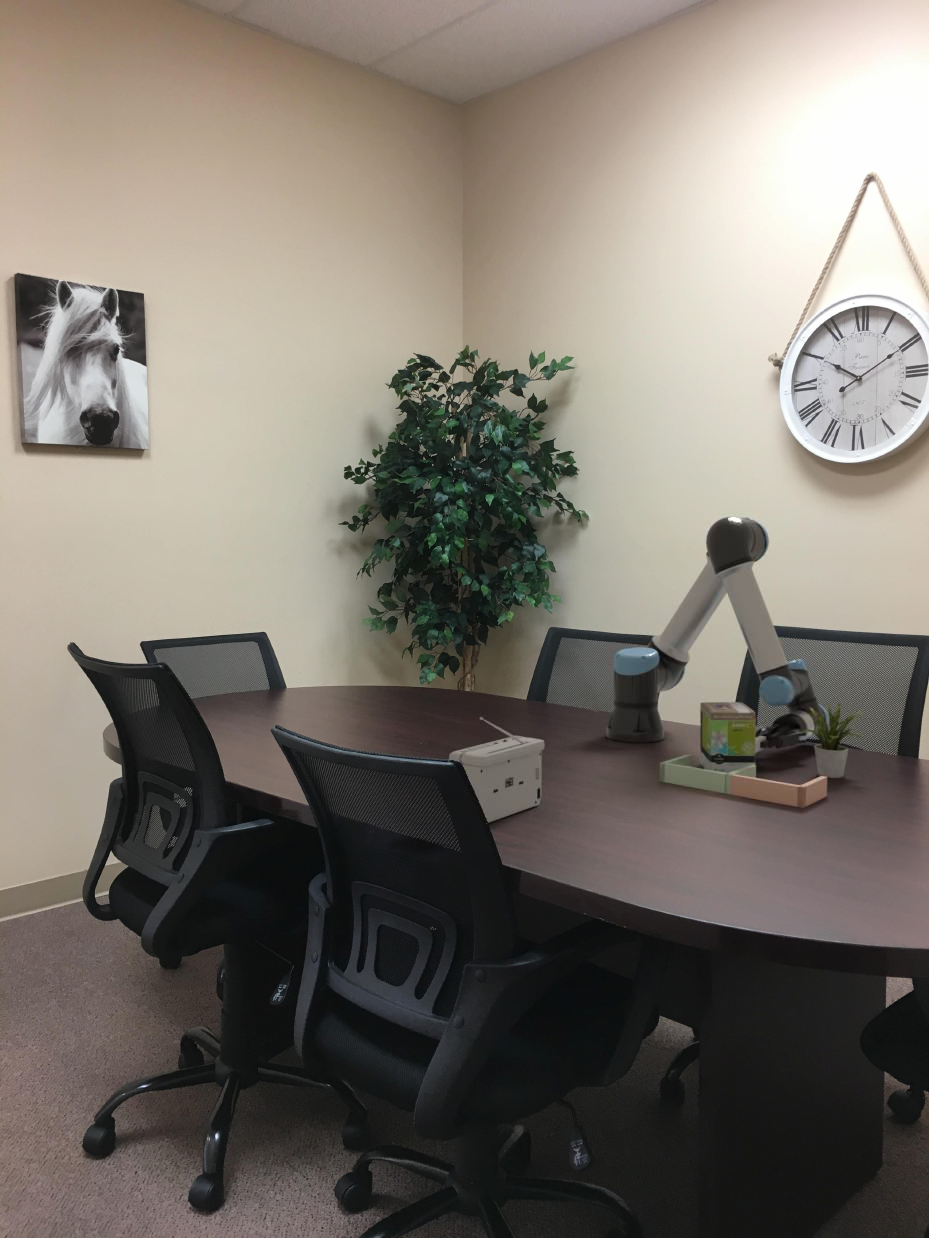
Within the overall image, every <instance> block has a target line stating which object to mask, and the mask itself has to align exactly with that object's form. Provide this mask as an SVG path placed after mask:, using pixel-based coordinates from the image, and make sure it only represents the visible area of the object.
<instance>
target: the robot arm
mask: <svg viewBox="0 0 929 1238" xmlns="http://www.w3.org/2000/svg"><path fill="white" fill-rule="evenodd" d="M769 539H770V538H769V535H768V531H767V530H766V528H765V526H763V524H762V523H760V522H759V521H757V520H754V519H752V518H750V517H735V516H726V517H723V518H721V519H718V520H717V521H715V522H714V523H713V524H712V525H711V527H709V530H708V531H707V533H706V540H705V541H706V542H705V544H706V545H705V546H706V551H707V552H706V553H705V556H706V560H707V561H706V564H705V565H704V567H703V569H702V570H701V572H700V573H699V574H698V576H697V578H696V579H695V581H694V582H693V584H692V586H691V587H690V589H688V590H689V591H688V592H687V593H686V595H685V597H683V600H682V602H681V603H680V605H678V608H677V609H676V611H675V613H674V614H673V616H672V617H671V619H670V620H669V622H668V623H667V625H666V626H665V628H664V630H663V631H662V633H661V634H660V635H654V636H652V638H651V640H650V641H649V643H648V644H647V646H646V647H641V646H639V647H631V648H629V647H628V648H624V649H621V650H619V651H617V652H616V653H615V654H614V658H613V659H614V660H613V664H612V668H613V707H612V708H613V709H612V711H611V714H610V717H609V721H608V722H607V723H608V724H607V725H606V738H608V739H609V740H610V739H611V740H612V741H613V740H614V741H618V742H626V743H654V742H659V741H662V740H664V739H665V729H664V728H665V727H664V726H663V722H662V719H661V716H660V712H659V707H658V706H659V693H661V692H667V691H669V690H671V689H673V688H674V687H676V686H678V684H680V682H681V681H682V680H683V678H684V676H685V672H686V666H687V664H688V663H689V662H690V660H691V658H690V654H689V651H690V649H691V648H692V647H693V645H694V644H695V642H696V640H697V639H698V637H700V634H702V631H703V630H704V629H705V627H706V625H707V624H708V623H709V621H710V620H711V618H712V616H713V614H714V613H715V612H716V610H717V609H718V607H719V606H720V604H721V603H722V601H723V599H724V598H725V597H726V595H727V596H728V599H729V602H730V604H731V607H732V609H733V612H734V614H735V618H736V621H737V622H738V625H739V628H740V631H741V633H742V637H743V638H744V642H745V644H746V647H747V649H748V652H749V654H750V657H751V661H752V662H753V666H754V668H755V671H756V673H757V675H758V679H759V682H760V684H759V688H758V693H759V697H760V699H761V701H763V702H764V703H765V704H767V705H768V706H771V707H776V708H777V707H784V706H786V708H787V712H788V713H785V714H783V715H781V716H778V717H777V718H776V719H775V720H774V721H773V722H772V725H768V726H766V727H765V728H763V726H760V725H756V727H755V754H756V753H758V752H760V751H762V750H764V749H772V748H773V747H774V748H775V749H782V748H787V747H793V746H796V745H798V744H806V743H807V739H809V738H812V737H814V736H816V735H815V734H813V733H812V732H808V731H804V730H807V729H810V730H814V731H817V728H818V725H817V724H816V723H815V722H814V721H813V719H812V718H811V717H810V716H809V715H811V716H812V717H813V718H814V719H815V720H816V717H815V715H814V714H813V712H812V710H811V709H810V708H812V709H814V710H815V711H816V712H817V713H818V714H819V715H820V717H821V719H822V721H823V714H825V717H826V722H827V725H829V724H830V722H829V712H828V710H826V708H825V707H824V706H823V705H821V704H819V701H818V699H817V696H816V693H815V690H814V687H813V684H812V681H811V678H810V675H809V670H808V668H807V666H806V665H805V664H806V663H805V661H804V660H803V659H801V658H800V659H793V660H791V661H787V657H786V655H785V652H784V649H783V648H782V644H781V642H780V639H779V636H778V634H777V631H776V629H775V626H774V624H773V622H772V618H771V615H770V613H769V611H768V608H767V605H766V602H765V600H764V597H763V595H762V592H761V590H760V589H761V588H760V587H759V584H758V581H757V579H756V575H755V574H754V571H753V566H754V565H755V563H756V562H758V561H759V560H760V559H762V558H763V557H764V556H765V555H766V552H767V551H768V548H769V544H770V541H769ZM809 707H810V708H809ZM807 713H808V714H809V715H808V714H807ZM816 722H817V720H816ZM817 723H818V722H817ZM823 723H824V721H823ZM824 726H825V725H824ZM817 732H818V731H817Z"/></svg>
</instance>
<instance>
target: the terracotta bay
mask: <svg viewBox="0 0 929 1238" xmlns="http://www.w3.org/2000/svg"><path fill="white" fill-rule="evenodd" d="M827 792H828V777H824V776H820V775H819V777H816V778H814V779H811V780H810V781H807V782H805V783H803V784H794V783H787V782H782V781H781V782H780V781H775V780H770V779H764V778H757V777H756V778H753V777H747V776H742V775H736V774H732V775H731V777H730V794H729V795H730V796H731V795H732V796H736V797H743V798H748V799H752V800H756V801H757V800H759V801H762V802H768V803H769V802H770V803H773V804H779V805H785V806H789V807H791V806H792V807H796V808H799V809H800V808H801V809H804V808H806V807H808V806H809V805H813V804H814V803H816V802H818V801H821V800H823V799H825V798H826V797H827V796H828V793H827Z"/></svg>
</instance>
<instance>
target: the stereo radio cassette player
mask: <svg viewBox="0 0 929 1238" xmlns="http://www.w3.org/2000/svg"><path fill="white" fill-rule="evenodd" d="M479 720H481V721H484V722H485V723H487V724H489V726H492V728H494V729H497V730H499V731H500V732H501V733H503V734H505V735H506V736H508V737H506V738H502V739H497V740H494V741H489V742H485V743H482V744H478V745H474V746H470V747H466V748H462V749H460V750H459V749H458V750H454V751H452V752H450V753H449V756H448V761H449V760H454V761H458V762H460V763H461V764H462V765H463V767H464V769H465V771H466V774H467V776H468V779H469V781H470V783H471V785H472V787H473V789H474V791H475V794H476V796H477V798H478V800H479V803H480V805H481V807H482V809H483V812H484V814H485V817H486V818H487V821H488V823H492V822H494V821H497V820H500V819H502V818H506V817H508V816H511V815H514V814H517V813H519V812H523V811H525V810H527V809H531V808H533V807H537V806H538V805H540V803H541V798H542V751H543V750H545V746H546V745H545V740H544V739H539V738H534V737H526V736H520V735H513V734H512V733H510V732H508V731H506V730H504V729H503V728H501V727H500V726H497V725H496V724H493V723H491V722H490V721H488V720H486V719H484V718H483V717H482V716H480V717H479ZM488 823H487V824H488Z"/></svg>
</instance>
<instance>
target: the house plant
mask: <svg viewBox="0 0 929 1238" xmlns="http://www.w3.org/2000/svg"><path fill="white" fill-rule="evenodd" d="M826 705H827V712H828V714H829V724H828V725H829V726H828V725H827V722H826V717H825V714H823V721H824V723H823V721H822V719H821V717H820V715H819V714H818V713H817V712H816V711H815V710H814V709H812V708H810V707H809V708H810V709H811V710H812V712H813V714H814V715H815V717H816V720H817V722H818V723H817V722H816V720H815V719H814V718H813V717H812V716H811V715H809V714H808V713H807V714H808V715H809V716H810V717H811V718H812V719H813V721H814V722H815V723H816V724H817V725H818V728H817V731H818V732H817V731H814V730H810V729H807V730H804V731H808V732H812V733H813V734H815V735H814V736H815V737H817V738H818V740H819V742H820V744H815V745H814V747H813V749H814V753H815V754H814V755H815V761H816V769H817V775H818V776H819V777H820V776H824V777H827V778H831V779H840V778H843V777H844V773H845V768H846V763H847V759H848V754H849V747H846V746H844V745H843V744H844V743H845V741H844V742H841V741H842V739H844V737H847V736H850V735H851V737H853V736H856V737H858V738H859V739H860V738H862V737H861V736H860V735H858V734H864V733H862V732H858V733H854V732H851V731H852V729H856V728H857V726H856V727H855V726H853V727H849V728H848V729H846V727H847V726H848V724H849V723H850V722H854V721H855V722H856V721H857V722H858V721H859V720H858V719H854V718H857V717H860V716H861V713H864V712H865V710H861V711H858V712H854V713H852V714H851V715H849V716H848V717H847V718H845V719H844V720H842V721H840V719H841V710H842V708H841V704H840V703H838V704H837V707H836V710H835V711H834V713H832V710H831V706H830V705H829V703H828V702H826ZM824 725H825V726H824ZM838 726H839V727H838ZM849 739H850V737H848V738H847V740H849ZM840 742H841V744H840ZM839 744H840V745H839Z"/></svg>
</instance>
